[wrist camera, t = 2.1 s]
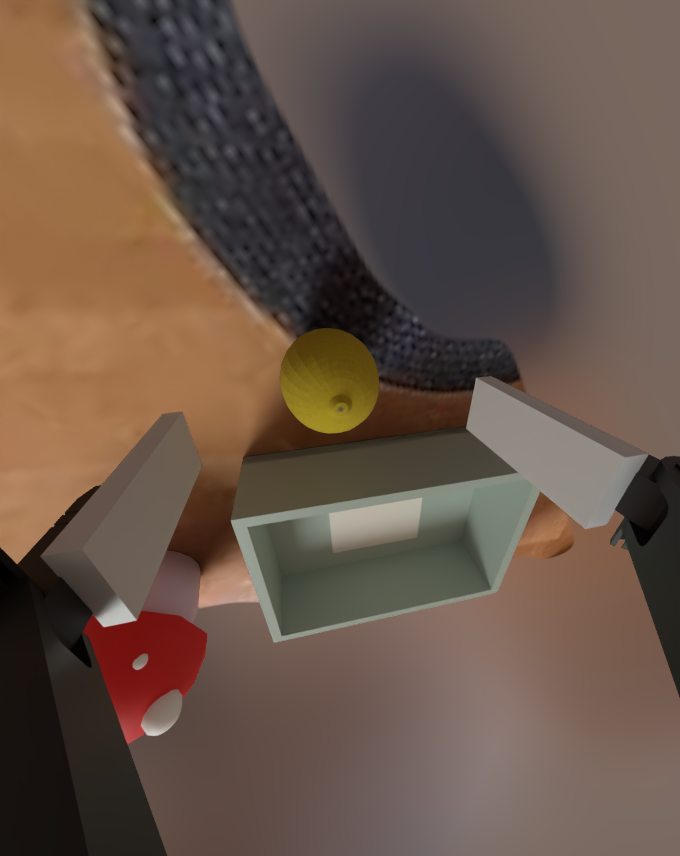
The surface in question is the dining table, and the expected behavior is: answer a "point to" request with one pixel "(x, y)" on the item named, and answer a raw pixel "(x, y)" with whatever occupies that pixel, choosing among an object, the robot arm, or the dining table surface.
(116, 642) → the mushroom
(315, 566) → the crate
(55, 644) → the robot arm
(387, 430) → the dining table surface
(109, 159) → the dining table surface
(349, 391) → the lemon
